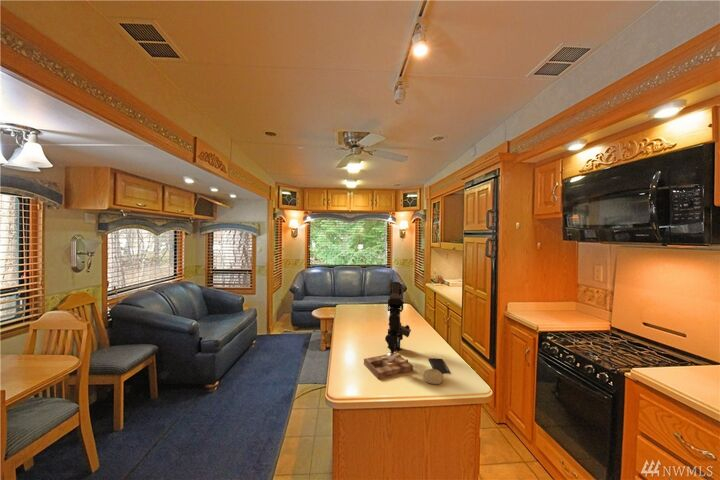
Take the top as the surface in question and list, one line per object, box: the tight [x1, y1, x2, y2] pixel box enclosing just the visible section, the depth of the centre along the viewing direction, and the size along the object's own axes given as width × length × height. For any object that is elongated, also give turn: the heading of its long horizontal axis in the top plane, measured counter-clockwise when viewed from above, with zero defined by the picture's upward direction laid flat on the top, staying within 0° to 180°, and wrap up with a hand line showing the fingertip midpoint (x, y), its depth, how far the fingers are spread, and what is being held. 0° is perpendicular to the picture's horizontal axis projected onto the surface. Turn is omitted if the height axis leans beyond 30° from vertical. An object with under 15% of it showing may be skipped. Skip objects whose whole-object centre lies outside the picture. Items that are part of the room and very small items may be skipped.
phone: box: [428, 357, 451, 374], centre depth 144 cm, size 8×1×15 cm
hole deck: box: [363, 352, 414, 380], centre depth 141 cm, size 20×16×4 cm
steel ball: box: [385, 351, 396, 363], centre depth 141 cm, size 5×5×5 cm
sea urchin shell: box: [422, 368, 444, 385], centre depth 130 cm, size 9×8×8 cm
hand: (394, 350), depth 145 cm, fingers open, 9 cm apart
